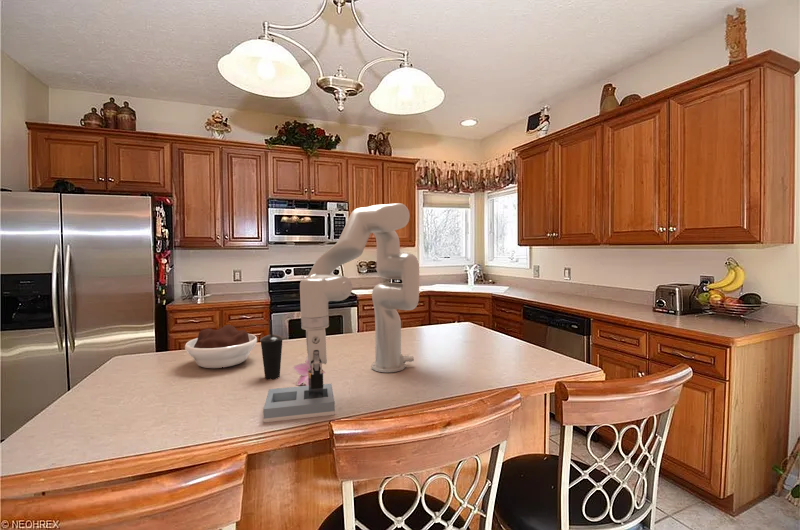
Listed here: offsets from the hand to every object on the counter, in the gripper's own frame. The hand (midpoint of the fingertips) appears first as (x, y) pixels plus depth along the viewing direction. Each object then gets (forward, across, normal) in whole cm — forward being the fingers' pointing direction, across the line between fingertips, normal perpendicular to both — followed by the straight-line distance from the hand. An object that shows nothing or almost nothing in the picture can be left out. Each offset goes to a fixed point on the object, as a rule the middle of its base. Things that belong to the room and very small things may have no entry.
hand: (316, 381), depth 106 cm
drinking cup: (+7, +28, +15) cm, 32 cm away
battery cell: (+6, 0, 0) cm, 6 cm away
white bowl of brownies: (+7, +48, +35) cm, 59 cm away
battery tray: (+7, 0, +5) cm, 8 cm away
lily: (+7, +18, +2) cm, 19 cm away
